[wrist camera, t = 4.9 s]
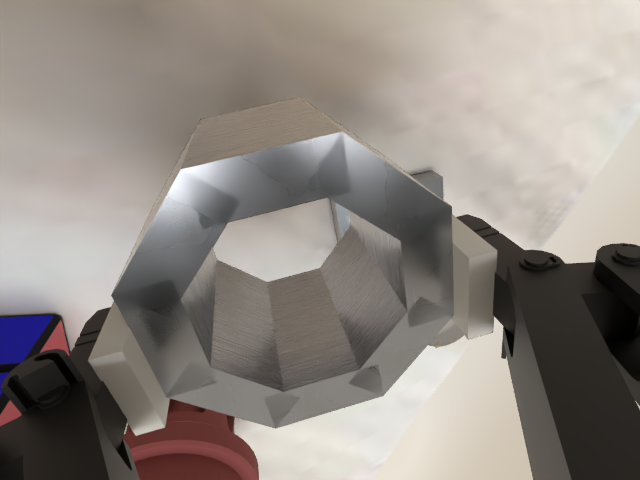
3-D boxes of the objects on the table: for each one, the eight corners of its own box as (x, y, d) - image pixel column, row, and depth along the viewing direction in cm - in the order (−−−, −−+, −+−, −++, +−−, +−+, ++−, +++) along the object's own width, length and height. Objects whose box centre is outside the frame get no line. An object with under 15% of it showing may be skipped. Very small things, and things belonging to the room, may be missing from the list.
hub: (127, 135, 13) (58, 198, 8) (367, 81, 14) (449, 106, 9) (206, 327, 17) (195, 452, 12) (390, 276, 18) (456, 374, 13)
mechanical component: (87, 371, 28) (224, 323, 28) (154, 456, 32) (270, 413, 33) (-8, 582, 17) (218, 496, 17) (113, 664, 21) (289, 595, 22)
